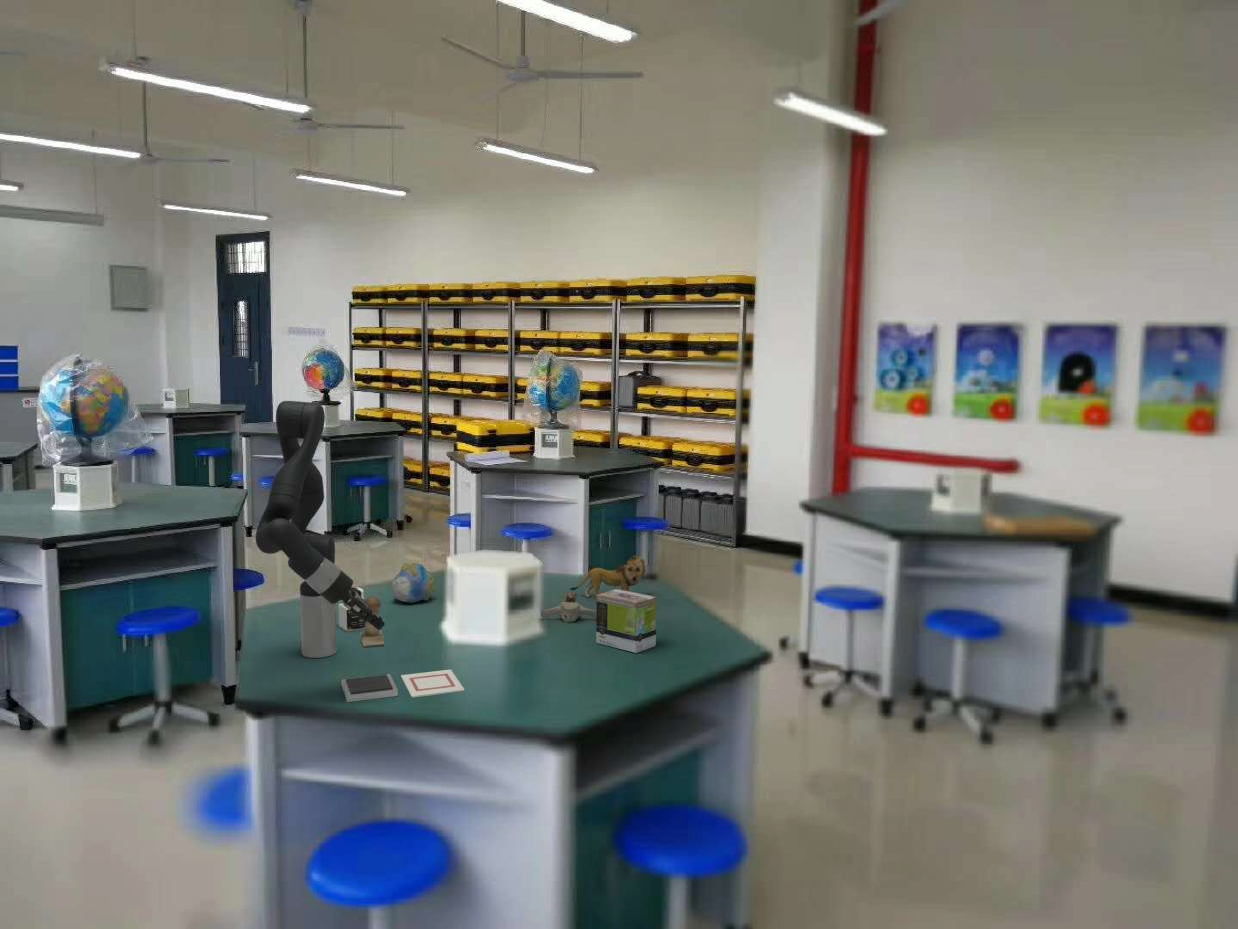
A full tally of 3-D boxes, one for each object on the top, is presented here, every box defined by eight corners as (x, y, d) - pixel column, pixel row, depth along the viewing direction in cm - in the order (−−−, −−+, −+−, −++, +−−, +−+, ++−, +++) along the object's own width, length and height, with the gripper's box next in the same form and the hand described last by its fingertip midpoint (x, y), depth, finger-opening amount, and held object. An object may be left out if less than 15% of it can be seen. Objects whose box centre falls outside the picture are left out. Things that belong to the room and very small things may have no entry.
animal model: (642, 603, 322) (643, 559, 320) (567, 598, 327) (567, 555, 325) (646, 596, 331) (647, 553, 329) (574, 592, 336) (574, 550, 334)
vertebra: (602, 607, 310) (602, 582, 305) (603, 629, 301) (603, 604, 296) (539, 607, 310) (538, 583, 304) (537, 630, 300) (536, 605, 295)
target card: (401, 676, 249) (400, 675, 249) (450, 671, 253) (450, 669, 253) (411, 697, 234) (411, 695, 234) (464, 691, 239) (464, 689, 239)
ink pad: (341, 685, 242) (341, 678, 241) (390, 680, 246) (389, 672, 246) (347, 702, 231) (346, 694, 230) (397, 696, 235) (397, 688, 235)
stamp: (360, 642, 239) (360, 595, 237) (381, 640, 240) (381, 593, 239) (363, 648, 234) (362, 600, 233) (384, 646, 236) (383, 598, 234)
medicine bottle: (347, 632, 287) (346, 592, 285) (338, 626, 292) (337, 587, 291) (370, 628, 291) (369, 589, 289) (361, 622, 296) (360, 584, 295)
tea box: (657, 646, 277) (658, 596, 275) (635, 654, 269) (636, 603, 267) (616, 635, 286) (617, 587, 284) (594, 643, 278) (595, 593, 276)
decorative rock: (396, 561, 313) (439, 559, 320) (384, 566, 326) (425, 564, 333) (398, 603, 311) (441, 599, 318) (386, 606, 324) (428, 602, 331)
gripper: (342, 575, 226) (396, 621, 232) (336, 562, 239) (387, 606, 245) (319, 599, 224) (374, 644, 230) (315, 585, 237) (366, 628, 243)
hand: (380, 624), depth 237 cm, fingers closed on stamp, 3 cm apart
